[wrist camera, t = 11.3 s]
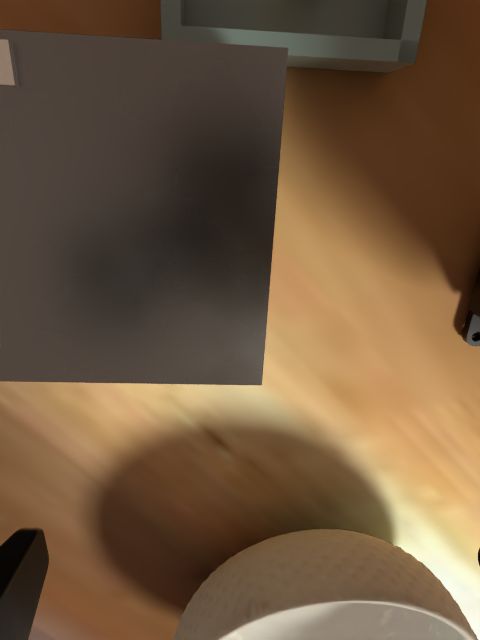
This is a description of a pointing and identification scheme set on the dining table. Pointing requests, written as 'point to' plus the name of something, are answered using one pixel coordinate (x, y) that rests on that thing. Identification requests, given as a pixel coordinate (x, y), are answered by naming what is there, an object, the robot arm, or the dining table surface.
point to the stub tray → (306, 29)
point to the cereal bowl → (323, 593)
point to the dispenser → (136, 208)
